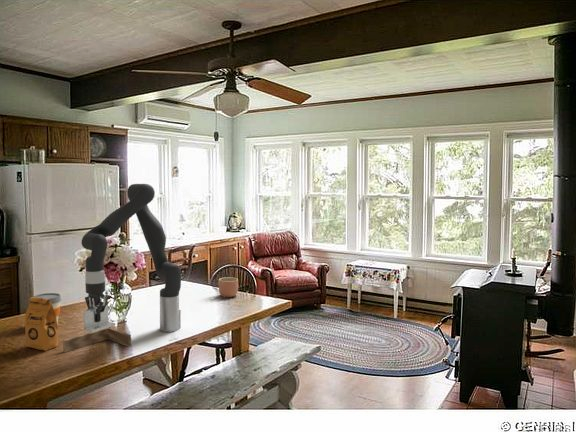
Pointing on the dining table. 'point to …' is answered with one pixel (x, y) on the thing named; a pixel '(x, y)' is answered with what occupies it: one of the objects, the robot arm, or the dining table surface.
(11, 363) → the dining table surface
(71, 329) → the dining table surface
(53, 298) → the reusable coffee cup
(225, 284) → the planter
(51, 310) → the coffee package
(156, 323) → the dining table surface
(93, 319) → the angle bracket
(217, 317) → the dining table surface
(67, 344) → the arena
